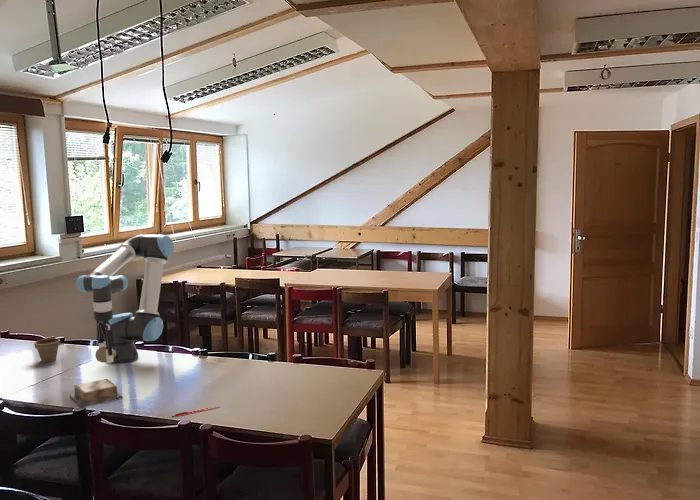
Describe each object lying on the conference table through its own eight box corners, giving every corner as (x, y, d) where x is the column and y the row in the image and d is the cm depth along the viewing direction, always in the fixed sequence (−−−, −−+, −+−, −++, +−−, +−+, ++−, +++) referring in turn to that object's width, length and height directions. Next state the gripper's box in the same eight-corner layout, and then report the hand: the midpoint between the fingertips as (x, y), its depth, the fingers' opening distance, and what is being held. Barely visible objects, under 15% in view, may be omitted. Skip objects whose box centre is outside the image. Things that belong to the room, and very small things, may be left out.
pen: (171, 417, 225) (171, 414, 225) (220, 407, 235) (220, 404, 235) (172, 418, 224) (172, 415, 224) (221, 407, 234) (221, 405, 234)
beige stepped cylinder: (121, 356, 272) (118, 341, 266) (108, 372, 264) (106, 356, 258) (106, 352, 273) (103, 337, 267) (93, 367, 265) (90, 351, 259)
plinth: (109, 388, 257) (109, 376, 256) (122, 398, 245) (121, 386, 244) (70, 396, 247) (69, 384, 246) (81, 407, 235) (80, 395, 234)
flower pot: (36, 365, 291) (34, 345, 290) (35, 359, 301) (33, 340, 300) (62, 361, 297) (60, 341, 296) (60, 356, 307) (59, 337, 306)
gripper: (86, 307, 268) (90, 355, 271) (102, 316, 251) (105, 367, 254) (103, 305, 273) (107, 352, 276) (120, 313, 256) (123, 363, 259)
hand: (106, 359), depth 265 cm, fingers closed on beige stepped cylinder, 9 cm apart
